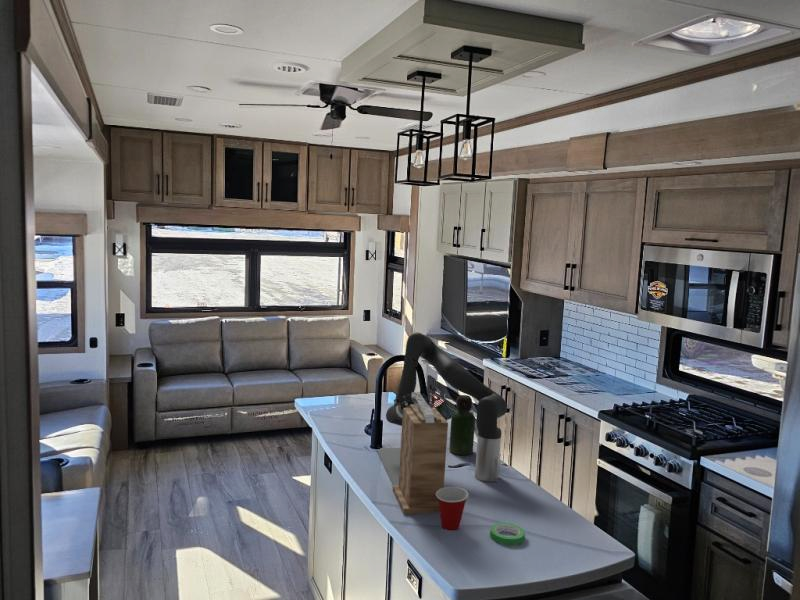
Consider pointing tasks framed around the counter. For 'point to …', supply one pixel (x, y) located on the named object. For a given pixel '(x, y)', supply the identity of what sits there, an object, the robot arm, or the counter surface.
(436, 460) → the brown tall ridged block
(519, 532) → the tape roll
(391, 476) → the rubber mat
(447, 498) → the plastic cup
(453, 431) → the green bottle
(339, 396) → the counter surface
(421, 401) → the steel bar
